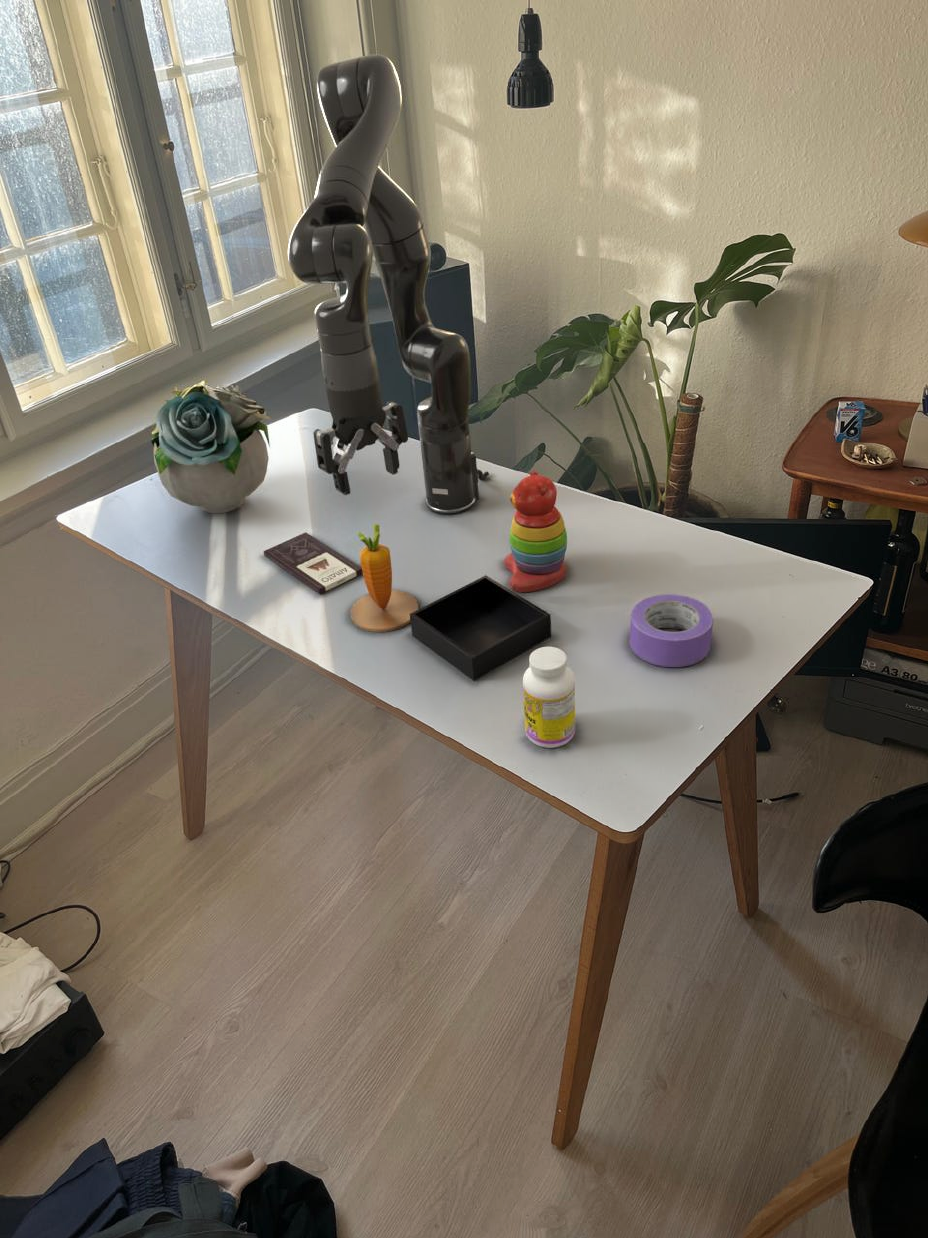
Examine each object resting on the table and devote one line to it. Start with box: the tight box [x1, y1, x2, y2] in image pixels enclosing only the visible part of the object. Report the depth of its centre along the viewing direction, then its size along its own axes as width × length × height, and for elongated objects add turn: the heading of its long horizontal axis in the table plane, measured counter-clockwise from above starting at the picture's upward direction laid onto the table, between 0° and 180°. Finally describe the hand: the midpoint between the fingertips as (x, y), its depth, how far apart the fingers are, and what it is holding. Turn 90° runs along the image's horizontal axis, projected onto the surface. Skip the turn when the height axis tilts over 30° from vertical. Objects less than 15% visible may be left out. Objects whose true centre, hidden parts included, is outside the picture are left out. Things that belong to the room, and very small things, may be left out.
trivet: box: [349, 589, 420, 633], centre depth 148 cm, size 11×11×1 cm
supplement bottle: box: [522, 646, 576, 749], centre depth 118 cm, size 7×7×13 cm
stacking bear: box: [504, 470, 568, 593], centre depth 148 cm, size 11×10×18 cm
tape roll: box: [629, 593, 714, 668], centre depth 134 cm, size 12×12×5 cm
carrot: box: [357, 523, 393, 609], centre depth 143 cm, size 5×5×15 cm
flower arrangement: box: [150, 378, 272, 514], centre depth 175 cm, size 25×25×24 cm
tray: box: [410, 574, 552, 682], centre depth 139 cm, size 15×15×4 cm
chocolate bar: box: [263, 531, 363, 595], centre depth 161 cm, size 9×1×18 cm
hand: (369, 482), depth 136 cm, fingers open, 8 cm apart
